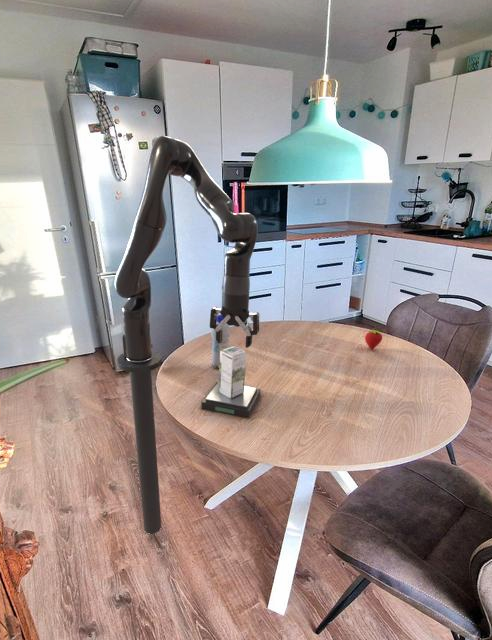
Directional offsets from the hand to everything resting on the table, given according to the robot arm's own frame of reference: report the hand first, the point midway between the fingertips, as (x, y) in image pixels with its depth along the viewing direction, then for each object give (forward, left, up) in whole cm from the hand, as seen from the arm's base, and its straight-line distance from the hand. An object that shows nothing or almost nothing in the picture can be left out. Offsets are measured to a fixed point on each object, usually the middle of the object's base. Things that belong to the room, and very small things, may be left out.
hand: (233, 344), depth 113 cm
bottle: (-12, +23, -20) cm, 33 cm away
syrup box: (0, 0, -17) cm, 17 cm away
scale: (0, 0, -20) cm, 20 cm away
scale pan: (0, 0, -17) cm, 17 cm away
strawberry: (+43, +62, -20) cm, 78 cm away
